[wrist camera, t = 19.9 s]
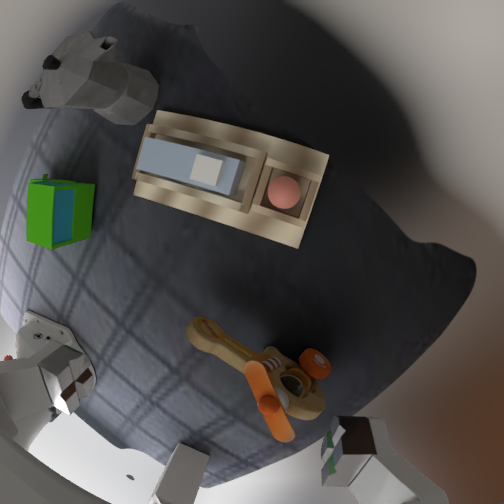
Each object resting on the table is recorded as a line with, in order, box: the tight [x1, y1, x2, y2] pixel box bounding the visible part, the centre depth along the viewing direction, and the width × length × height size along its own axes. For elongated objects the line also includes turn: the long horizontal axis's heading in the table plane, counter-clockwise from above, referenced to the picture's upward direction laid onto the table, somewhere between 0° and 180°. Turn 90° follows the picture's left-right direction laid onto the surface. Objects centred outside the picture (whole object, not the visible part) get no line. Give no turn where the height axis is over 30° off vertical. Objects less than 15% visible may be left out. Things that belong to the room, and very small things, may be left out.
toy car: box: [27, 174, 95, 250], centre depth 34 cm, size 10×13×10 cm
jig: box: [132, 110, 329, 249], centre depth 33 cm, size 23×12×4 cm, turn 73°
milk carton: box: [149, 442, 210, 504], centre depth 39 cm, size 7×7×19 cm
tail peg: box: [268, 176, 301, 209], centre depth 29 cm, size 3×3×8 cm
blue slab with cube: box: [136, 137, 246, 195], centre depth 32 cm, size 12×4×5 cm, turn 73°
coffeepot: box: [22, 31, 159, 125], centre depth 25 cm, size 15×9×18 cm, turn 101°
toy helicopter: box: [185, 316, 332, 442], centre depth 33 cm, size 8×21×14 cm, turn 57°
